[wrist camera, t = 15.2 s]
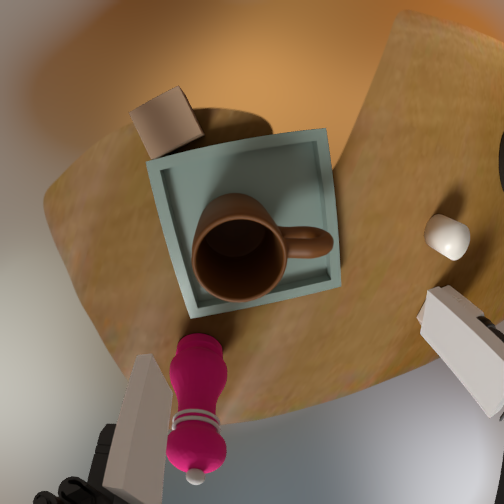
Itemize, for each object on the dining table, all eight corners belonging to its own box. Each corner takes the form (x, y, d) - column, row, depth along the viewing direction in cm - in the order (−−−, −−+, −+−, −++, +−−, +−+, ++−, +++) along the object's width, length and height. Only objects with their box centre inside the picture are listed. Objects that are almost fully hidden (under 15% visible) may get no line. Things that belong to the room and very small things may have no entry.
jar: (457, 279, 38) (503, 314, 27) (450, 317, 41) (489, 355, 30) (418, 295, 38) (464, 339, 27) (413, 335, 41) (451, 380, 30)
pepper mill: (206, 375, 39) (207, 499, 20) (164, 352, 37) (142, 481, 18) (236, 346, 37) (252, 481, 19) (192, 320, 35) (180, 462, 17)
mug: (308, 184, 29) (343, 202, 21) (309, 251, 32) (340, 290, 23) (193, 195, 29) (182, 218, 20) (203, 263, 31) (198, 309, 23)
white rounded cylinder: (448, 211, 34) (471, 221, 29) (446, 243, 35) (467, 255, 31) (424, 216, 33) (447, 227, 29) (423, 250, 35) (444, 263, 31)
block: (185, 94, 26) (178, 85, 21) (205, 135, 27) (201, 133, 23) (143, 117, 26) (128, 112, 21) (162, 157, 28) (151, 159, 23)
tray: (317, 129, 28) (325, 127, 26) (333, 277, 35) (341, 286, 33) (151, 160, 28) (145, 161, 25) (192, 307, 34) (190, 318, 32)
